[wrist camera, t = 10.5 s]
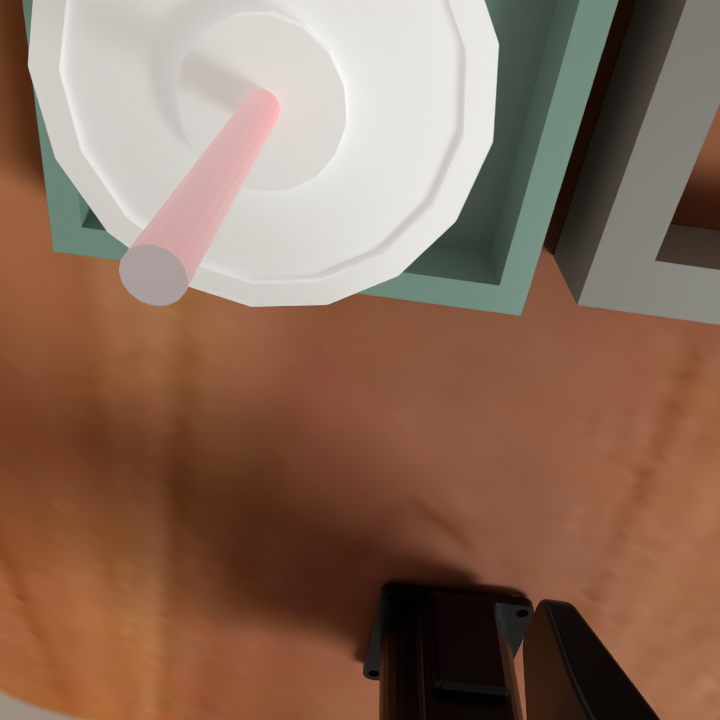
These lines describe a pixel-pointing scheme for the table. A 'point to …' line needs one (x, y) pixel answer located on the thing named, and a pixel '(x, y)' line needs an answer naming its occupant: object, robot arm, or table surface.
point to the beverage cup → (267, 135)
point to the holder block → (649, 172)
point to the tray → (493, 183)
